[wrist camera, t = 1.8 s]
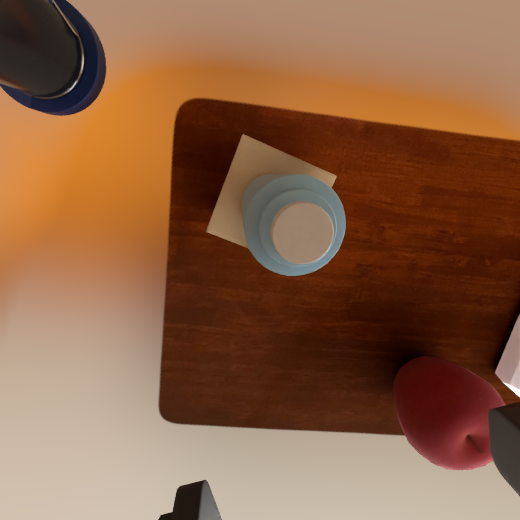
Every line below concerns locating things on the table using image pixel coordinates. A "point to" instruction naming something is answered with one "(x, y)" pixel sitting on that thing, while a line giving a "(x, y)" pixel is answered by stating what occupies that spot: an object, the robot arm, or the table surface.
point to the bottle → (292, 222)
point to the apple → (445, 412)
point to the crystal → (511, 361)
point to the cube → (243, 173)
